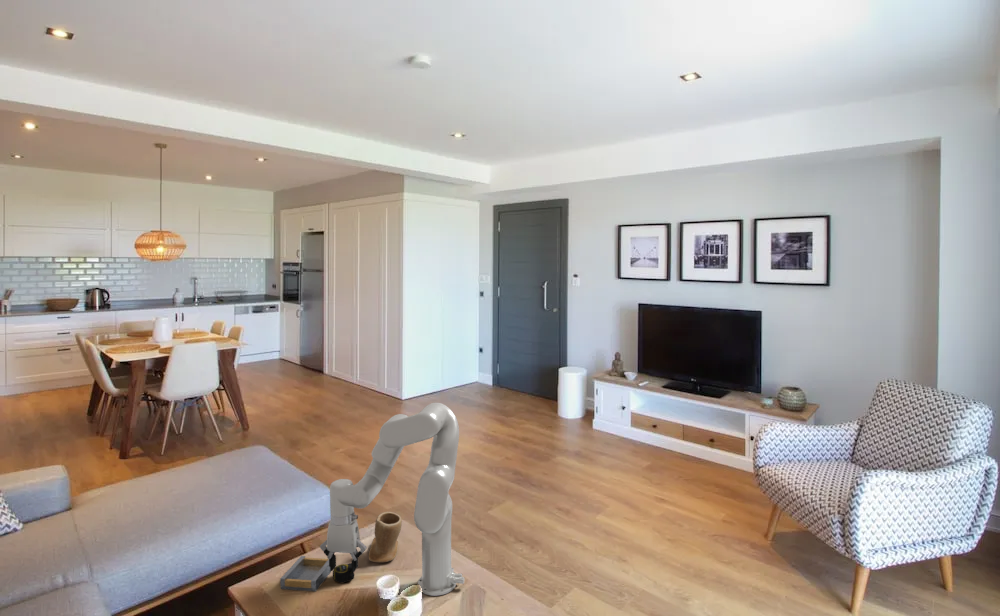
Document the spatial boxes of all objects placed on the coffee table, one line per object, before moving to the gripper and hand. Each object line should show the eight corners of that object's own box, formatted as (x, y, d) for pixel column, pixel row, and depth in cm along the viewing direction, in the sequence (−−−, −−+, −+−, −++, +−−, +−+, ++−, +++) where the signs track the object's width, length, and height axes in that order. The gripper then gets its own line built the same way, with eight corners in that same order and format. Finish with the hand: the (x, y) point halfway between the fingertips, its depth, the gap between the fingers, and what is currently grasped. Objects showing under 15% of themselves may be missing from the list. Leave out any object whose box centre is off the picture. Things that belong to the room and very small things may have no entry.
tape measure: (354, 582, 179) (354, 572, 178) (332, 586, 177) (332, 575, 176) (353, 571, 185) (353, 561, 185) (332, 575, 183) (332, 564, 183)
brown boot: (400, 564, 189) (399, 523, 188) (365, 565, 189) (364, 524, 188) (405, 543, 205) (404, 504, 204) (373, 544, 204) (372, 505, 203)
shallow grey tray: (334, 567, 188) (334, 558, 187) (315, 591, 174) (315, 581, 173) (301, 565, 189) (301, 555, 189) (280, 588, 175) (280, 578, 175)
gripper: (371, 513, 182) (372, 564, 183) (322, 511, 184) (324, 561, 185) (363, 524, 175) (364, 577, 176) (312, 521, 177) (314, 574, 178)
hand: (343, 568), depth 181 cm, fingers closed on tape measure, 6 cm apart
